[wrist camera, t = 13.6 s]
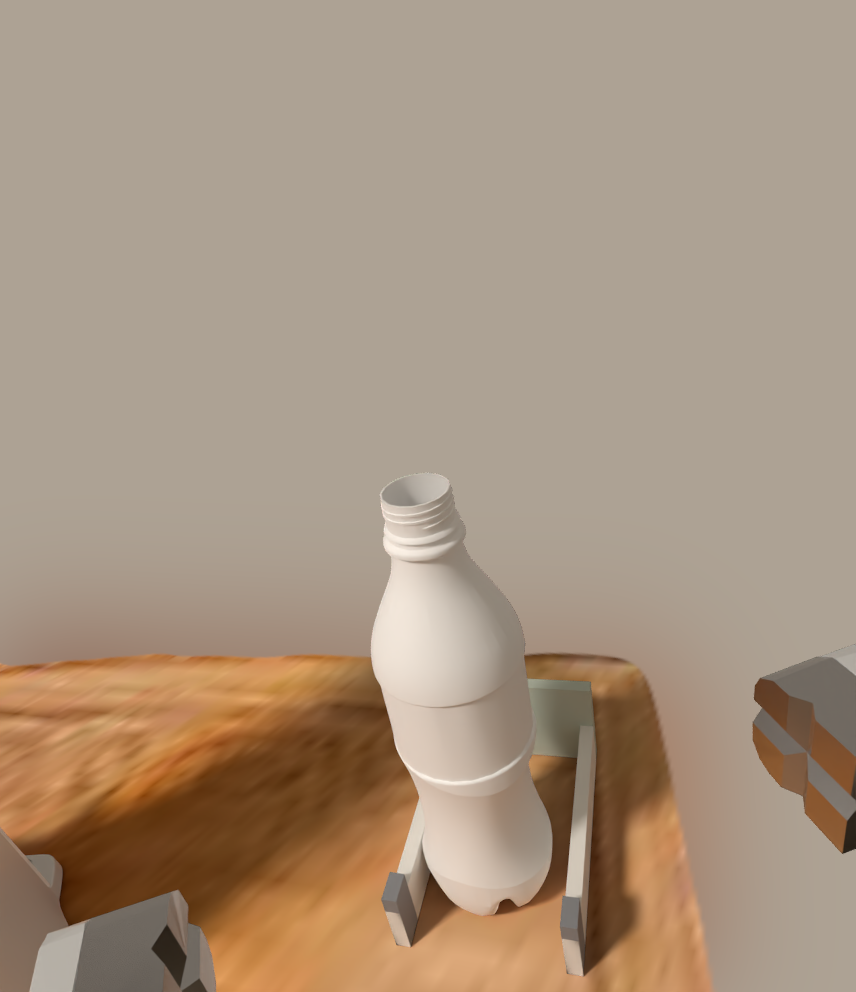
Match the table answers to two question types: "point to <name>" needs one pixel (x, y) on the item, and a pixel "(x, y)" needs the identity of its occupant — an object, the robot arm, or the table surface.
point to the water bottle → (459, 703)
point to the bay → (571, 735)
